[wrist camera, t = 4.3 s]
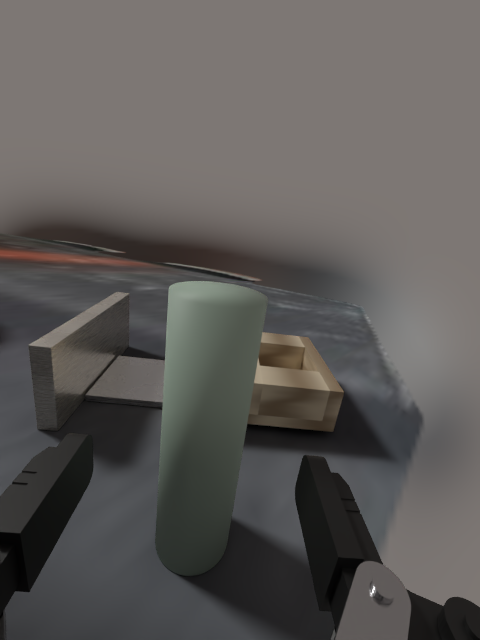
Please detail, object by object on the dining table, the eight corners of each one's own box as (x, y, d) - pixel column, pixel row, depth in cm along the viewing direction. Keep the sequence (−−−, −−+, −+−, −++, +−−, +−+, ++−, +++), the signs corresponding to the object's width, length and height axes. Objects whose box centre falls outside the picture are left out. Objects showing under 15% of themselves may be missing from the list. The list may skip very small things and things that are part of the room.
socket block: (171, 416, 24) (174, 374, 23) (190, 354, 36) (193, 324, 34) (332, 431, 25) (344, 392, 24) (301, 366, 37) (308, 337, 35)
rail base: (37, 429, 22) (28, 345, 20) (117, 344, 37) (116, 292, 35) (350, 456, 24) (374, 381, 21) (304, 365, 39) (315, 315, 37)
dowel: (146, 573, 14) (157, 298, 10) (164, 499, 18) (178, 277, 14) (227, 578, 14) (274, 312, 10) (228, 504, 18) (262, 287, 14)
